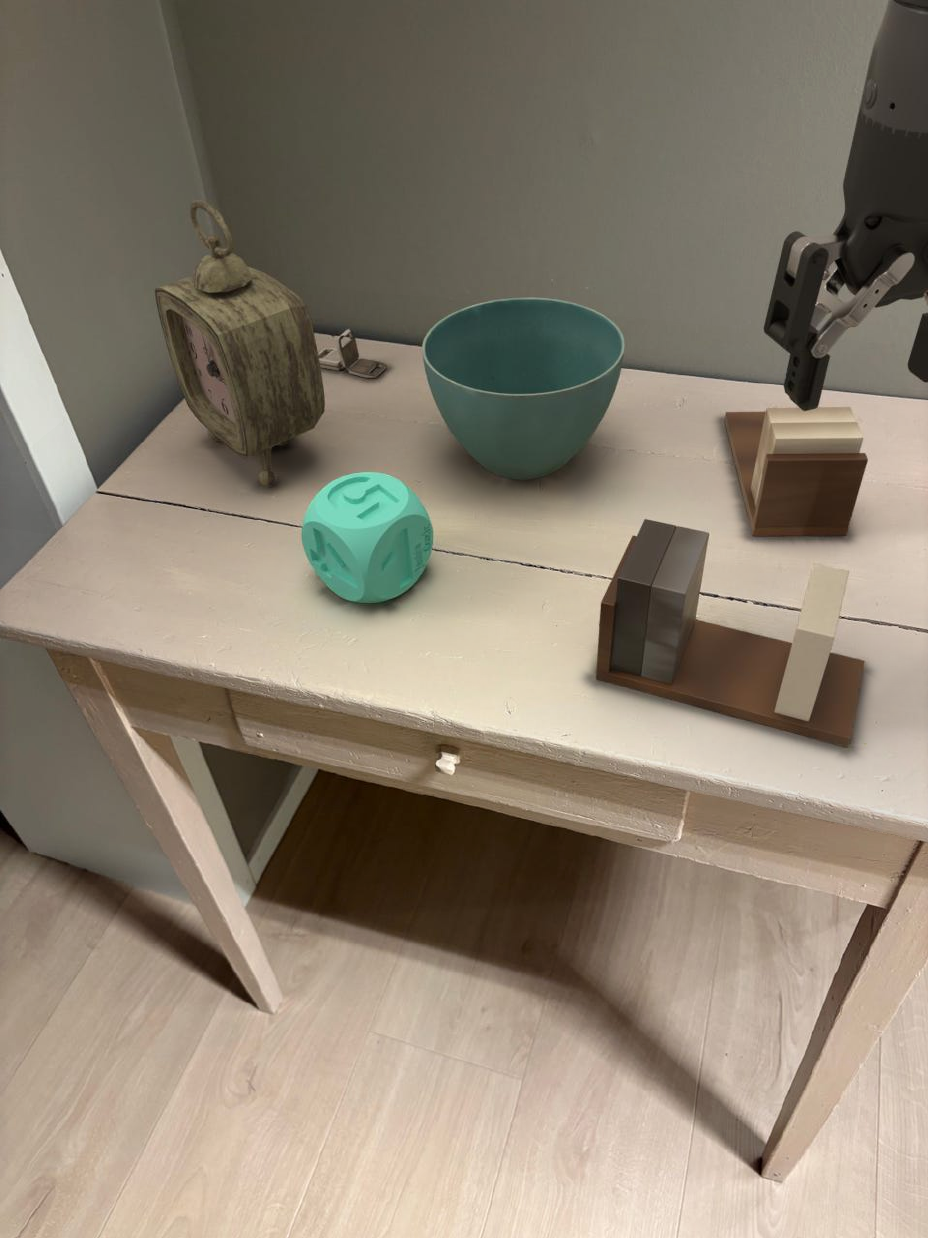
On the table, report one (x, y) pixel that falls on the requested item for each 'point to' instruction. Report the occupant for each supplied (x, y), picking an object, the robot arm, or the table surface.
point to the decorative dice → (367, 537)
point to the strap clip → (348, 358)
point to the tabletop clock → (241, 351)
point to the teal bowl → (523, 380)
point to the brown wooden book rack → (798, 469)
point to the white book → (812, 641)
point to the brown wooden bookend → (704, 643)
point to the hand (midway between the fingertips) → (862, 389)
